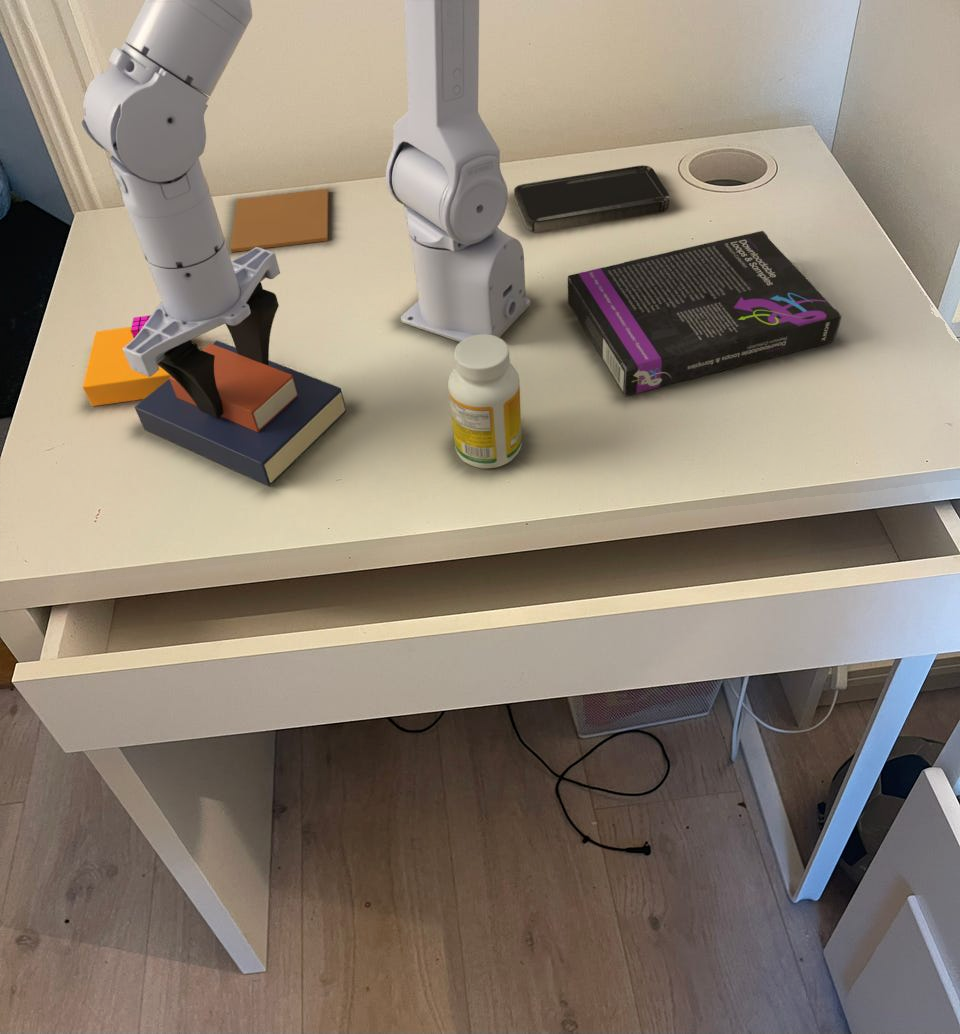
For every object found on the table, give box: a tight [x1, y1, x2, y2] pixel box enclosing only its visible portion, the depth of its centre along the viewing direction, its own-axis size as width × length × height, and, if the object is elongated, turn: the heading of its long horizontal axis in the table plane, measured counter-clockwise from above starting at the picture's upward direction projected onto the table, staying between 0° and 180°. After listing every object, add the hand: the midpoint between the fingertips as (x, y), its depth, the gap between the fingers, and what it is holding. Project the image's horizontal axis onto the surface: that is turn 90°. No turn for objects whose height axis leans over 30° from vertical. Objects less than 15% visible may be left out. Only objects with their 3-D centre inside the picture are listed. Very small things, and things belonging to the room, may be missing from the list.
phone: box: [513, 164, 671, 233], centre depth 99 cm, size 8×1×15 cm
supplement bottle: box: [447, 334, 523, 469], centre depth 72 cm, size 5×5×10 cm
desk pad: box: [230, 188, 329, 253], centre depth 101 cm, size 10×10×1 cm
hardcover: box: [134, 340, 347, 487], centre depth 79 cm, size 14×10×3 cm
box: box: [567, 230, 843, 397], centre depth 83 cm, size 14×4×20 cm
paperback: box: [169, 343, 298, 432], centre depth 77 cm, size 9×5×2 cm, turn 58°
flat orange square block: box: [82, 314, 171, 407], centre depth 84 cm, size 8×8×4 cm
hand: (234, 392), depth 78 cm, fingers closed on paperback, 5 cm apart
